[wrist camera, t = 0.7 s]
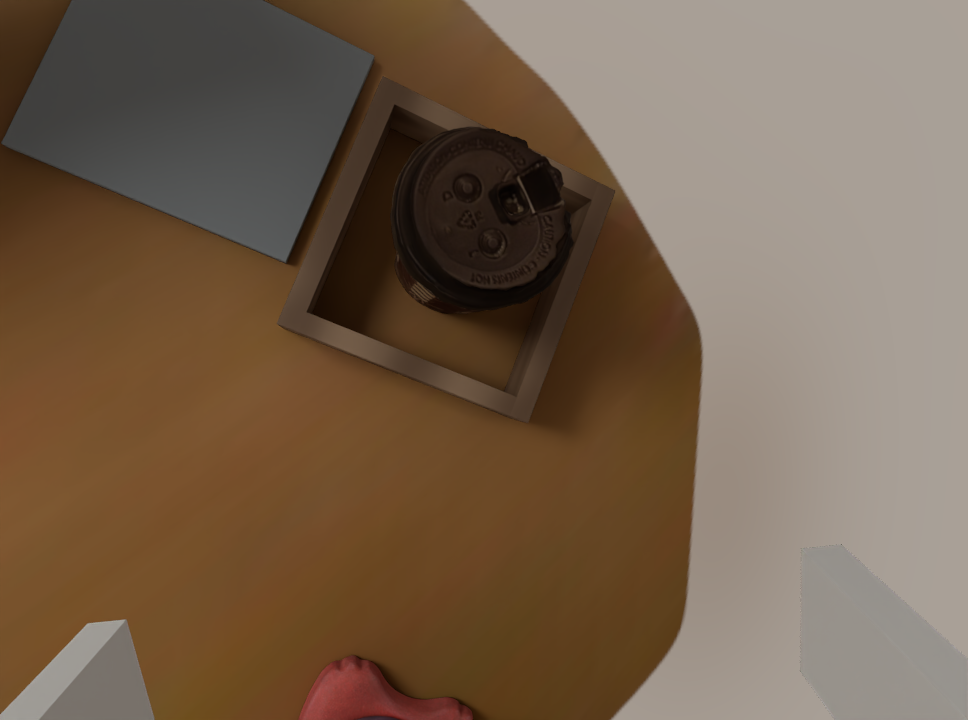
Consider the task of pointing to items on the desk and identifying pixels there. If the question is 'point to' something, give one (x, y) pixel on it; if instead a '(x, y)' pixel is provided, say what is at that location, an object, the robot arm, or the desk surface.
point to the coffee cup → (478, 222)
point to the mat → (195, 110)
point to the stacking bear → (370, 697)
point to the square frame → (516, 402)
